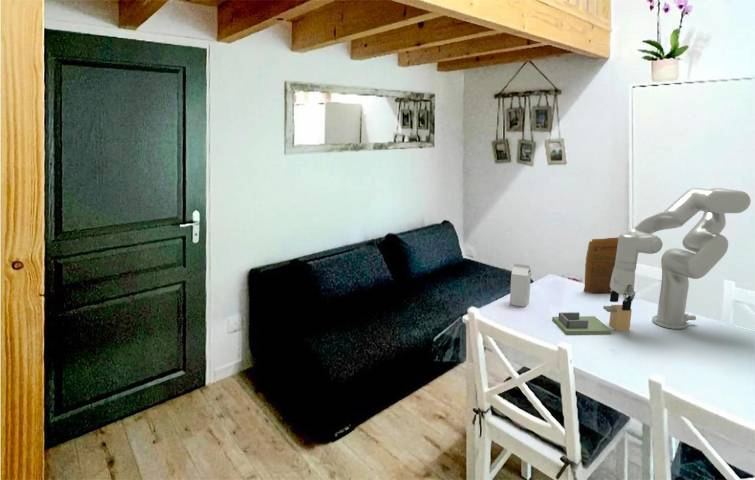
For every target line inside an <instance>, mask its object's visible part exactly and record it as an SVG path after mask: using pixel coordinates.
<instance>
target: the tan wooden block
mask: <svg viewBox="0 0 755 480" xmlns="http://www.w3.org/2000/svg"><path fill="white" fill-rule="evenodd" d="M603 309H604V310H605V311H606V312H607V313H610V314H609V315H610V316H609V323H608V326H609V328H611V329H613V331H616V332H622V331H625V332H626V331H627V332H628V331H630V330H631V329H630V328H631V318H632V312H633V309H632V308H631V310H630V311H623V310H622V304H611V305H603Z"/></svg>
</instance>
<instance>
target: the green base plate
mask: <svg viewBox="0 0 755 480" xmlns="http://www.w3.org/2000/svg"><path fill="white" fill-rule="evenodd" d="M551 320H552V322H553V323H555V325H556V326H557V327H558V328H559V329H560V330H561V331H562V332H563V334H564V335H567V336H575V335H612V334H613V333H612V332H613V331H612V330H611V328H610V327H608V326H607V325H606V324H605V323H604V322H602V321H601V320H600V319H599V318H597V317H596V316H595V315H592V316H591V315H590V316H588V315H587V316H586V315H585V316H582V315H580V312H579V311H578V312H577V311H575V312H574V311H573V312H558V316H552V317H551Z"/></svg>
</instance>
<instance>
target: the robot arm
mask: <svg viewBox="0 0 755 480" xmlns="http://www.w3.org/2000/svg"><path fill="white" fill-rule="evenodd" d="M750 197H751V196H750V195H749V194H748V193H747V192H745V191H742V190H737V189H736V190H734V189H727V188H721V187H716V188H715V187H713V188H710V189H708V188H700V187H693V188H690V189H688V190H686V192H684V193H683V194H682V195H681V196H680V197H678V198H677V200H675V201H674V202H673V203H672V204H670V205H669V206H668V207H667V208H666V209H665V210H664V211H661V212H659V213H656V214H654V215H652V216H649V217H647V218H644V219H642V220H641V221H640V222H638V223H637V224H636V225H635V226H633V228H632V229H631V230H630V231H629V232H628V233H627V232H626V233H625V232H623V233H620V234H619V236H618V237H619V238H618V245H617V253H616V260H615V266H614V269H613V272H612V277H611V280H610V281H611V282H610V288H611V290H610V291H611V293H610V297H609V302H611V303H619V297H620V296H622V297H623V300H622V304H621V305H622V310H623V311H630V310H631V309H632V303H633V301H634V299H635V297H636V296H635V295H636V291H635V283H636V280H635V279H636V270H637V265H638V264H637V263H638V258H639V257H638V256H639V254H647V255H653V254H657V253H659V252H660V251H661V250H662V248H663V241H662V239H661V238H660V237H658V235H656V234H655V235H654V233H657V232H659V231H664V230H670V229H671V230H672V229H677V228H680V227H683V226H684V225H686V223H688V221H690V220H691V219H692V218H693V217H694V216H695V215H697V214H698V213H699V212H703V214H702V216H701V218H700V220H699V221H697V223H696V224H695V225H694V226H693V227H692V228H691V229H690V230H689V232H688V233H687V234H686V235H685V236H684V237H683V238H682V246H683V248H684V249H681V248H677V247H673V248H670V249H667V250H665V251H664V252H663V254H662V256H661V260H660V261H661V265H660V266H661V281H660V282H661V283H660V289H659V290H660V292H659V299H658V306H657V315H655V316H652V319H651V320H652V322H653V323H654V324H656V326H660V327H663V328H666V329H673V330H682V329H683V330H684V329H686V328H688V326H689V323H688V321H696V320H697V316H696V315H689V314H688V313H686V308H687V307H686V306H687V301H688V300H687V299H688V293H689V287H690V285H689V283H690V281H689V279H693V280H697V279H698V280H699V279H701V278H703V277H705V276H706V275H707V274H708V273H710V271H712V270H713V268H714V267H715V266H716V265H717V263H719V261H721V260H722V259H723V257H724V256H725V255H726V253H727V252H728V249H729V240H728V238H727V237H726V236H724V235H722V234H721V233H722V231H723V230H724V228H725V227H726V214H740V213H743V212H745V211H746V210H748V209H749V207H750V206H751V200H752V199H751V198H750ZM685 249H686V250H685Z"/></svg>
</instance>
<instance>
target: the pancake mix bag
mask: <svg viewBox="0 0 755 480" xmlns="http://www.w3.org/2000/svg"><path fill="white" fill-rule="evenodd" d="M618 238H619V236H618V237H607V238H592V239H591V241H589V242H588V246H587V251H586V256H585V264H584V267H585V268H584V287H583V292H584V293H589V294H611V291H610V290H611V288H610V282H611V281H610V280H611V277H612V272H613V269H614V266H615V260H616V253H617V245H618Z"/></svg>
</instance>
